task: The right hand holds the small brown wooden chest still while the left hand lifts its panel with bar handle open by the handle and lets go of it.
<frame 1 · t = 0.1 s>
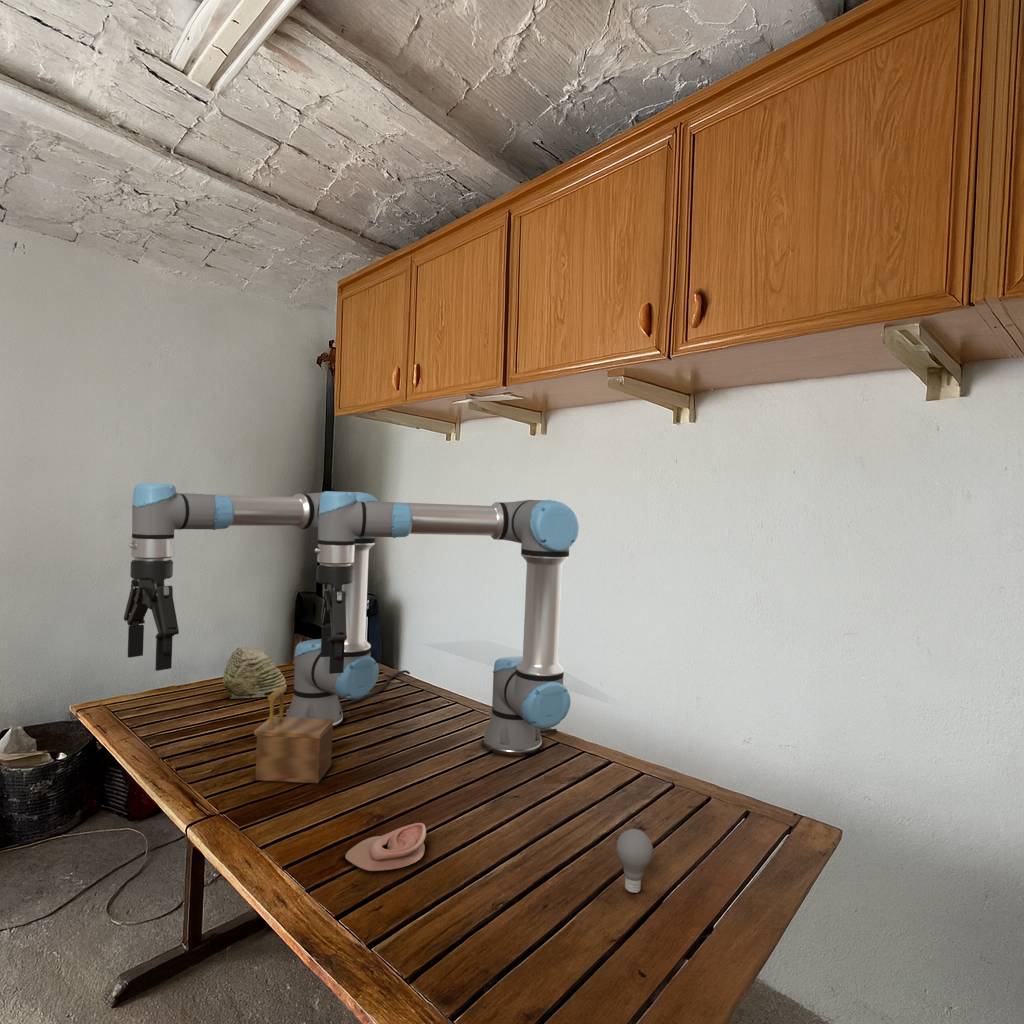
left hand: (148, 662, 129), 28 cm above the table, tool pointing down, fingers open, 13 cm apart
right hand: (331, 664, 134), 28 cm above the table, tool pointing down, fingers open, 13 cm apart
fossil: (254, 694, 198), on the table
panel with bar handle: (295, 710, 144), point 14 cm above the table, hinge at 0.0°
anatomical model: (386, 854, 113), on the table
chest: (294, 772, 145), on the table
light bulb: (632, 891, 106), on the table
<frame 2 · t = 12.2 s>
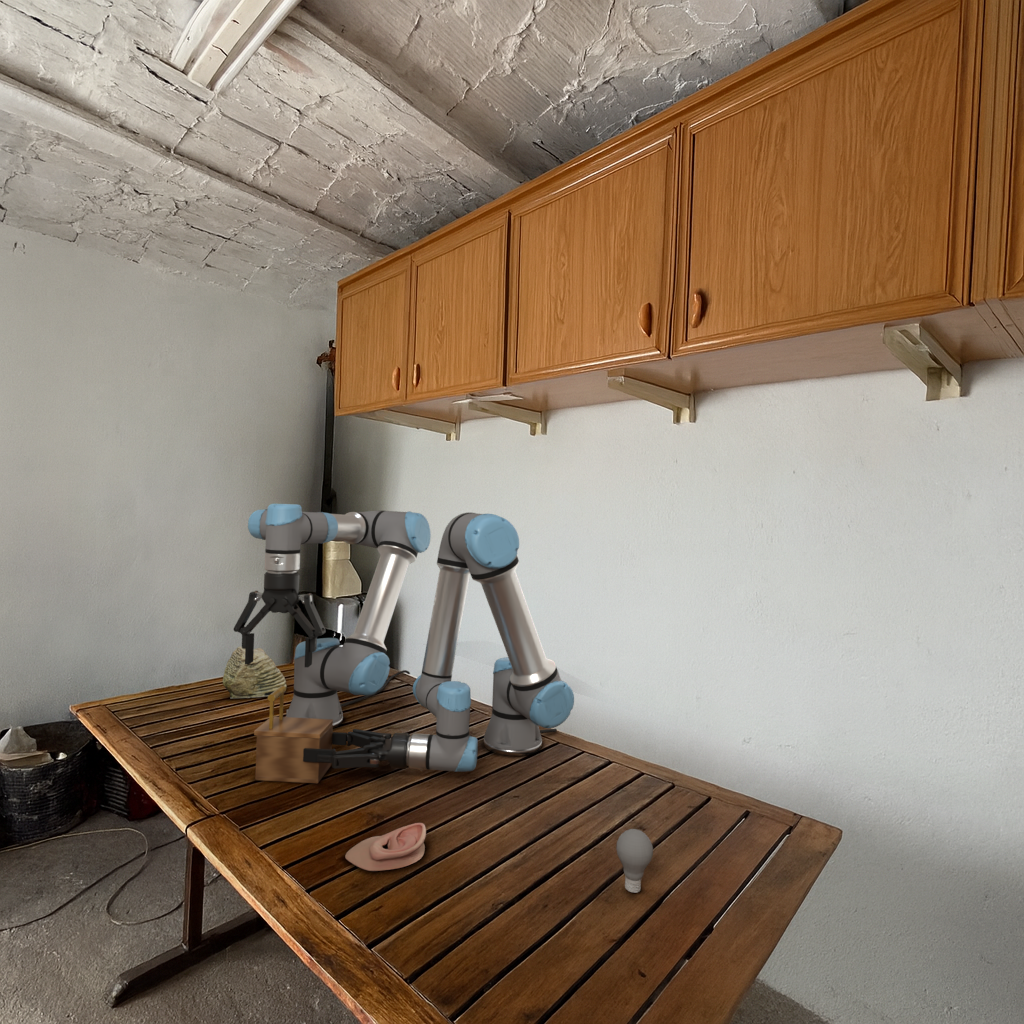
left hand: (278, 664, 144), 25 cm above the table, tool pointing down, fingers open, 13 cm apart
right hand: (311, 745, 144), 6 cm above the table, tool horizontal, fingers closed on chest, 9 cm apart
chest: (294, 772, 145), on the table, touching right hand
everything else where it was.
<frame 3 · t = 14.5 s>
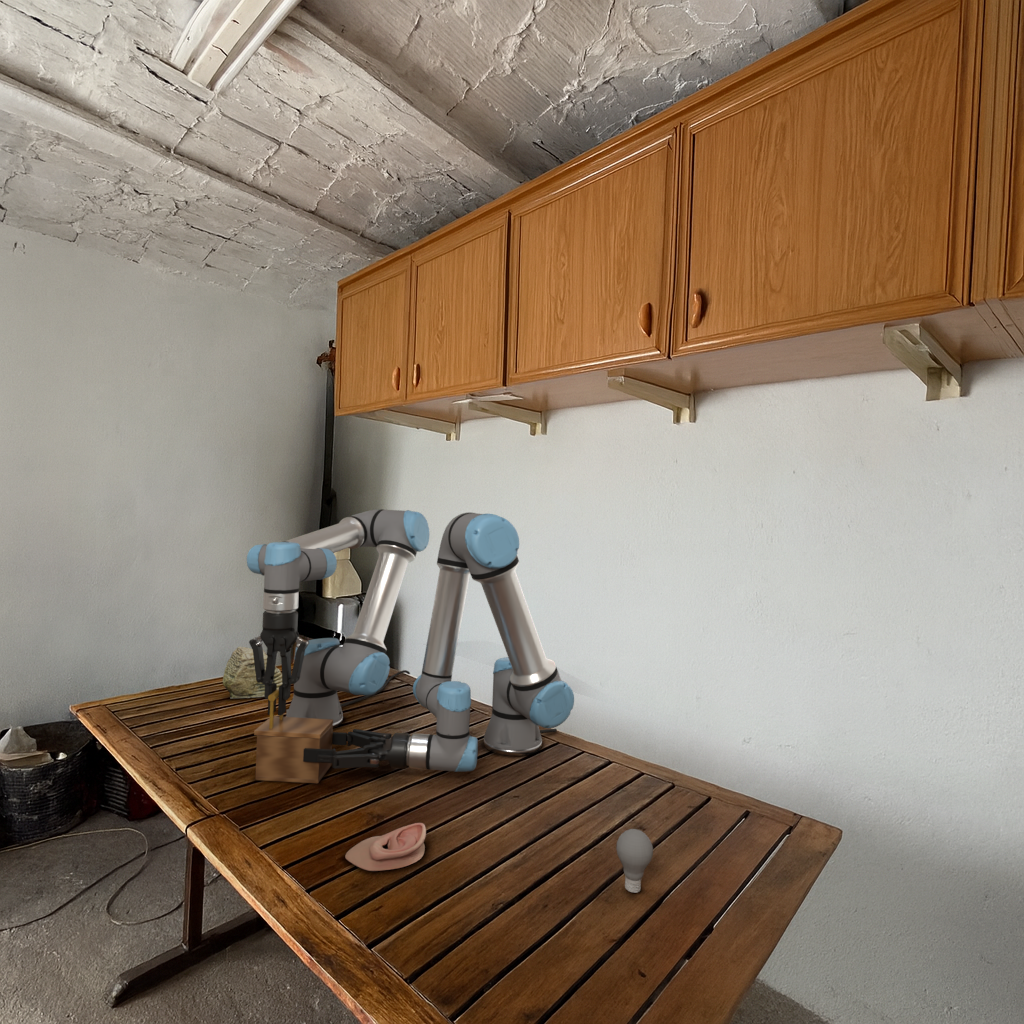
left hand: (276, 712, 144), 14 cm above the table, tool pointing down, fingers closed on panel with bar handle, 2 cm apart
right hand: (311, 745, 144), 6 cm above the table, tool horizontal, fingers closed on chest, 9 cm apart
panel with bar handle: (295, 710, 144), point 14 cm above the table, hinge at 0.2°, touching left hand
chest: (294, 772, 145), on the table, touching right hand
everything else where it was.
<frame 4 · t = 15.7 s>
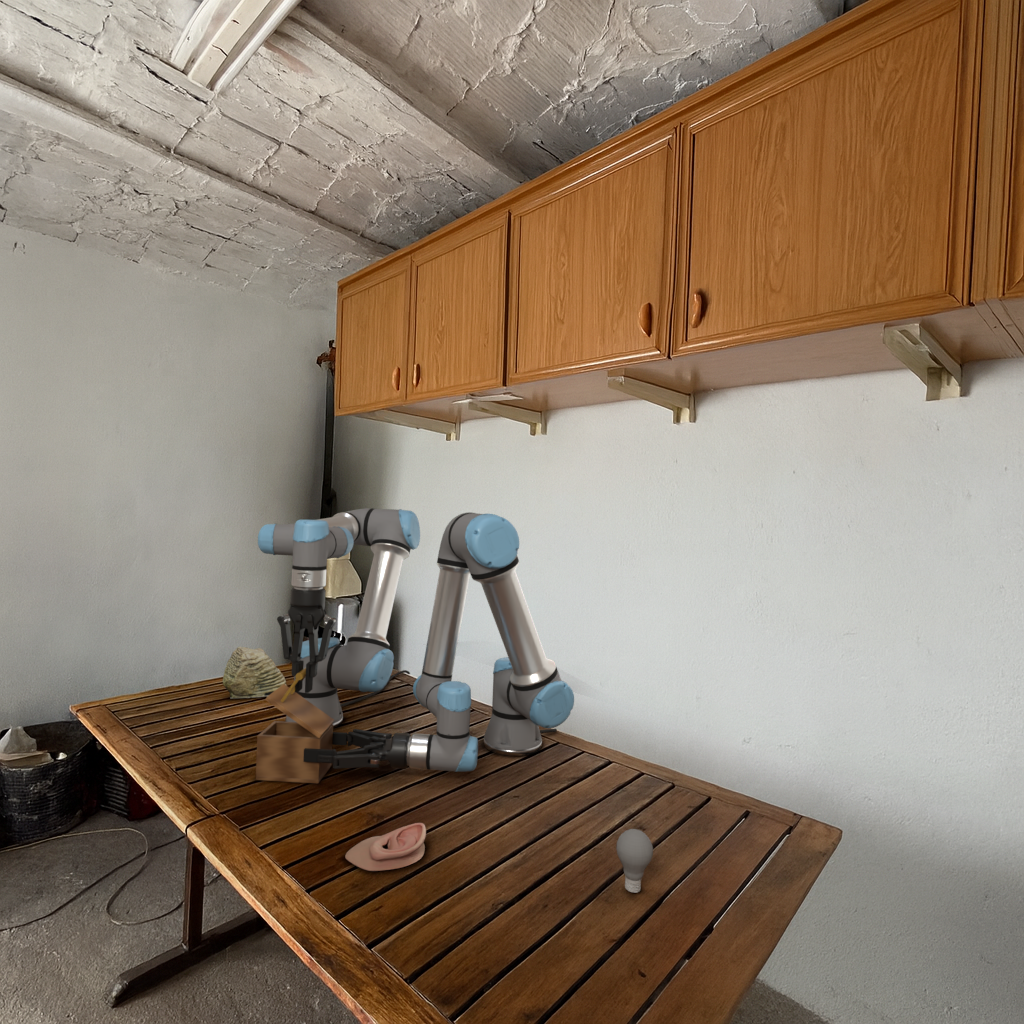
left hand: (303, 690, 144), 19 cm above the table, tool pointing down, fingers closed on panel with bar handle, 2 cm apart
right hand: (312, 746, 144), 6 cm above the table, tool horizontal, fingers closed on chest, 9 cm apart
panel with bar handle: (310, 696, 144), point 18 cm above the table, hinge at 32.8°, touching left hand
chest: (294, 772, 145), on the table, touching right hand
everything else where it was.
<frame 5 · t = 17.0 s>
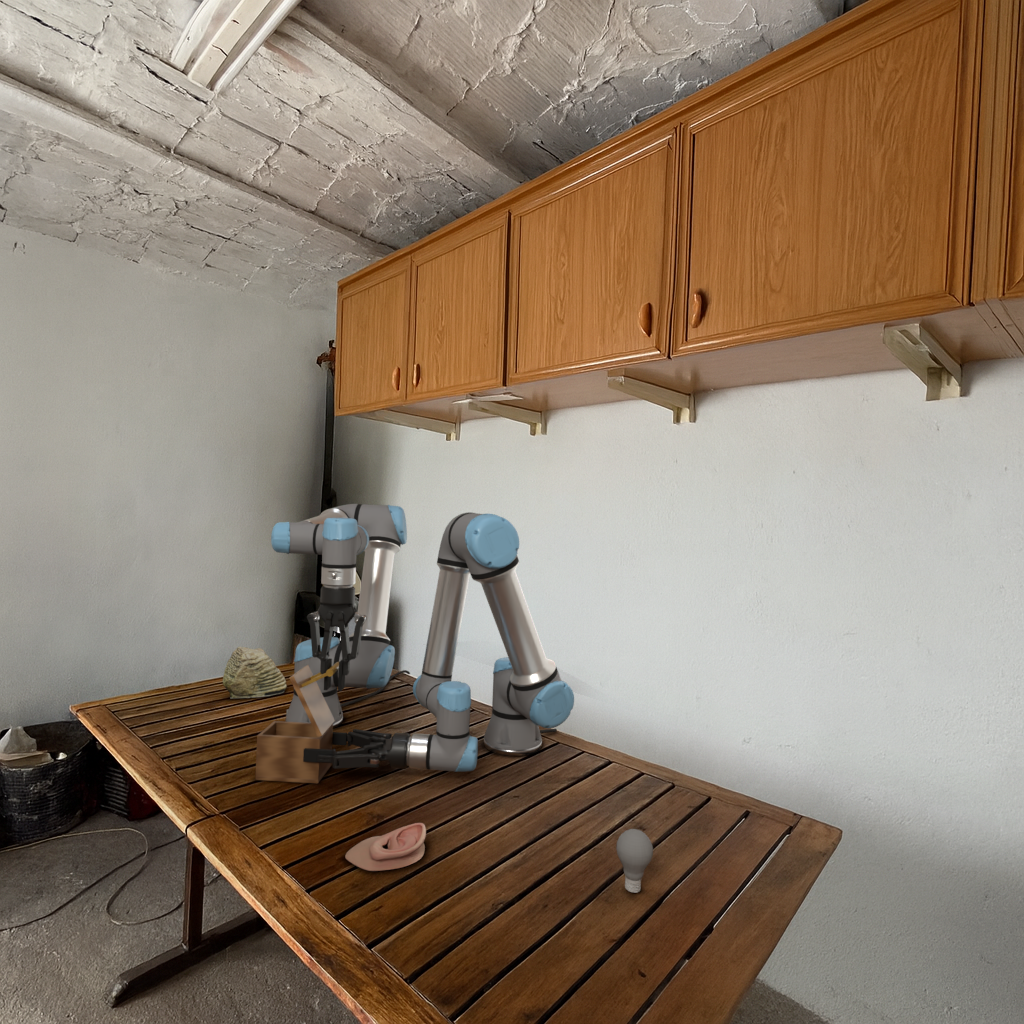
left hand: (334, 688, 144), 20 cm above the table, tool pointing down, fingers open, 2 cm apart
right hand: (311, 745, 144), 6 cm above the table, tool horizontal, fingers closed on chest, 9 cm apart
panel with bar handle: (328, 692, 144), point 19 cm above the table, hinge at 61.8°
chest: (294, 772, 145), on the table, touching right hand
everything else where it was.
when the right hand's fingers open (6 cm above the table, at t = 21.0 s): chest stays where it is, on the table.
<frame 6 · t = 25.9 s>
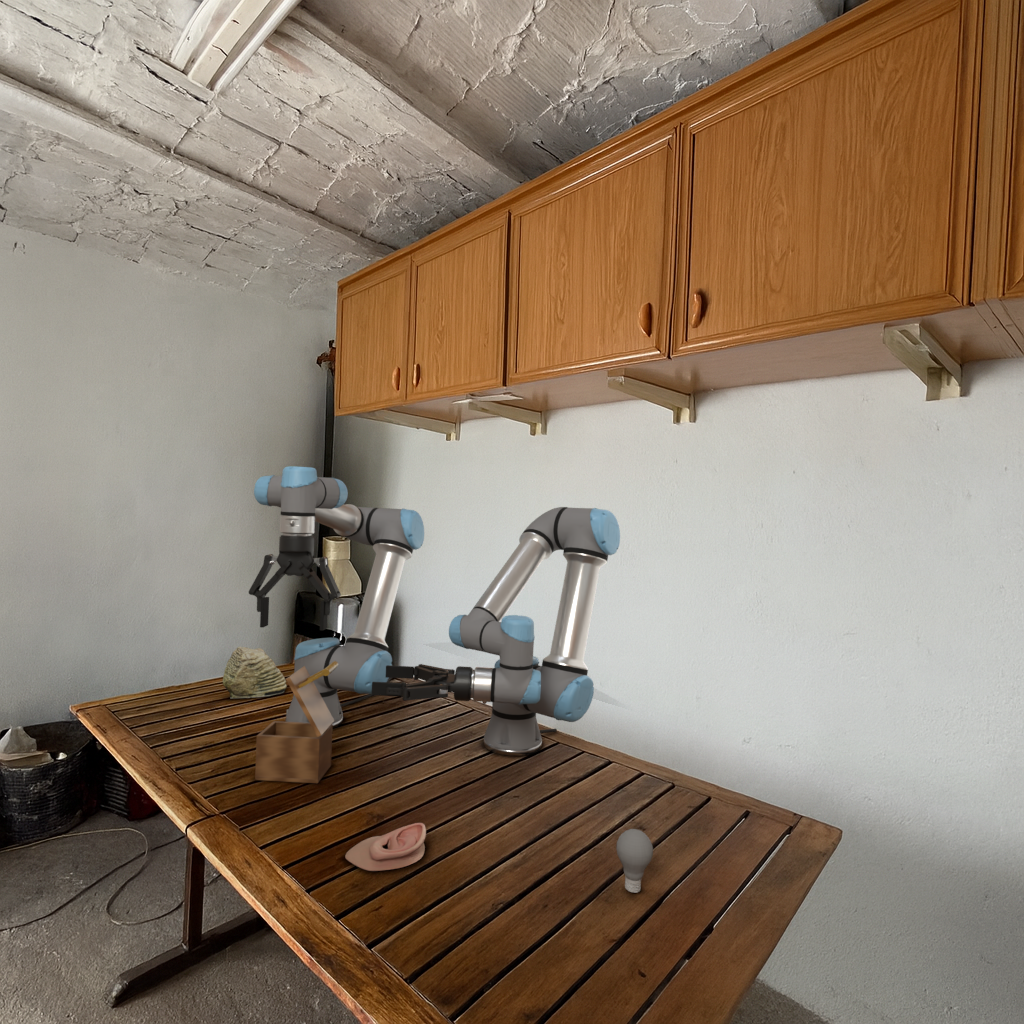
left hand: (293, 627, 144), 33 cm above the table, tool pointing down, fingers open, 13 cm apart
right hand: (379, 679, 144), 22 cm above the table, tool horizontal, fingers open, 13 cm apart
panel with bar handle: (325, 692, 144), point 19 cm above the table, hinge at 58.9°
chest: (294, 772, 145), on the table
everything else where it was.
at the end: panel with bar handle at +59° (first picture: +0°); the left hand is holding nothing; the right hand is holding nothing; chest tilted 0°; chest never tilted more than 1° during the clip; chest moved 0.1 cm from its start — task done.
